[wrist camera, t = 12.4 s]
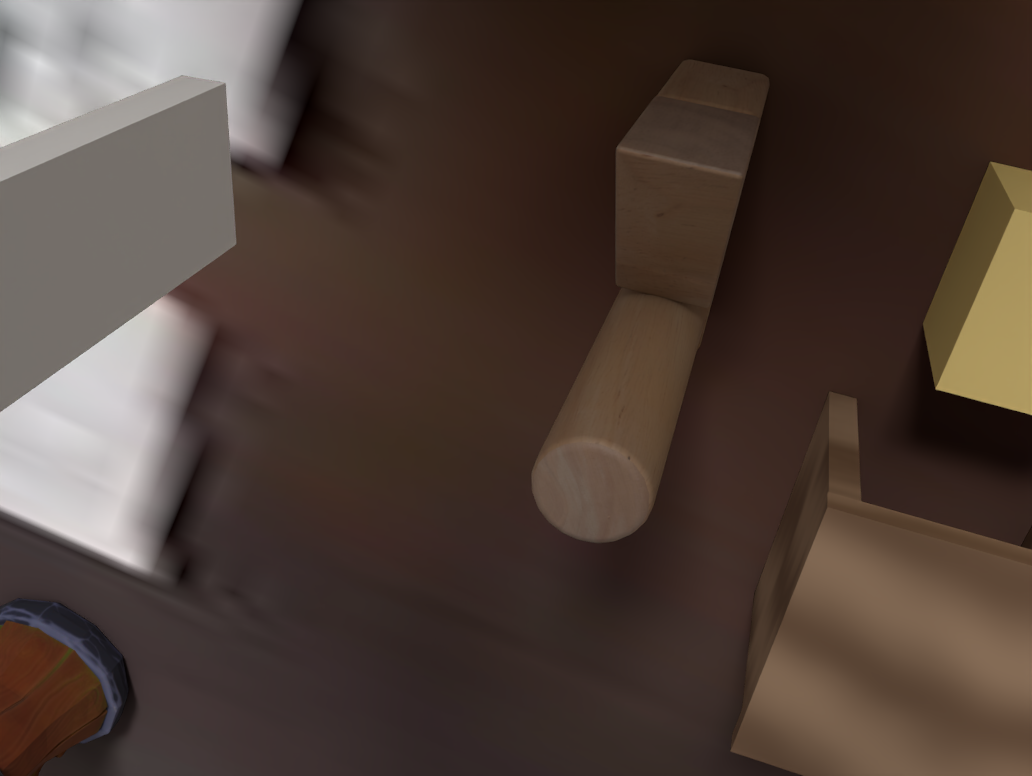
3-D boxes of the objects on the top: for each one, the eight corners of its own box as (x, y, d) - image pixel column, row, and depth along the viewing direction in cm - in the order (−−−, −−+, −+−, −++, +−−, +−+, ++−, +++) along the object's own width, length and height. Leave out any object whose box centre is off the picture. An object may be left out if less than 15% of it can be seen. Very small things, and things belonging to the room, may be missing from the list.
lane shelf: (828, 380, 43) (827, 507, 35) (1109, 455, 41) (1181, 608, 33) (747, 599, 50) (730, 751, 41) (987, 673, 48) (1020, 847, 39)
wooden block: (773, 74, 38) (733, 216, 23) (707, 320, 44) (640, 568, 28) (680, 55, 39) (581, 181, 24) (627, 300, 44) (518, 532, 29)
